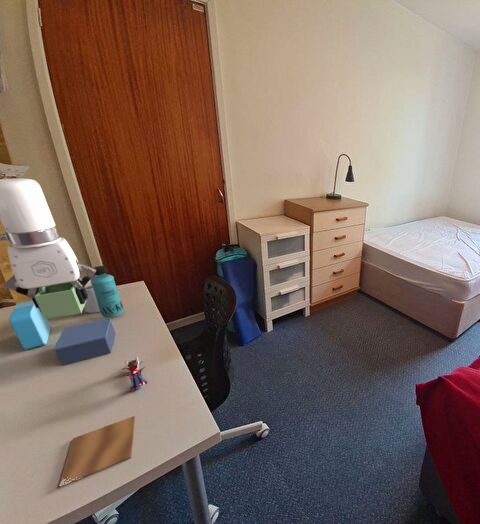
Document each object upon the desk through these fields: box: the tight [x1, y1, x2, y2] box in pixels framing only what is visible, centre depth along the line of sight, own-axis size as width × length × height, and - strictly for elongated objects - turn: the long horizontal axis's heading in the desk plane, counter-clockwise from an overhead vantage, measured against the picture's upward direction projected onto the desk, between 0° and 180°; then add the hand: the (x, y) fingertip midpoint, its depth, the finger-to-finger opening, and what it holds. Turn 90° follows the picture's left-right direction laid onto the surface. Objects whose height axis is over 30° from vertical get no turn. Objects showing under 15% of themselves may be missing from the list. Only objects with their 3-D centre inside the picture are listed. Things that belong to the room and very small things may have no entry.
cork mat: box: [60, 415, 136, 484], centre depth 60 cm, size 11×11×1 cm
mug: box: [83, 279, 101, 314], centre depth 107 cm, size 11×10×10 cm
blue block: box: [52, 317, 116, 367], centre depth 87 cm, size 11×11×6 cm
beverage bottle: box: [90, 265, 124, 319], centre depth 100 cm, size 6×7×20 cm
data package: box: [8, 299, 51, 351], centre depth 88 cm, size 12×4×12 cm, turn 39°
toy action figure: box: [121, 356, 148, 392], centre depth 76 cm, size 5×12×6 cm, turn 42°
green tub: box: [34, 282, 86, 321], centre depth 69 cm, size 6×6×6 cm
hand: (64, 304), depth 69 cm, fingers closed on green tub, 6 cm apart
